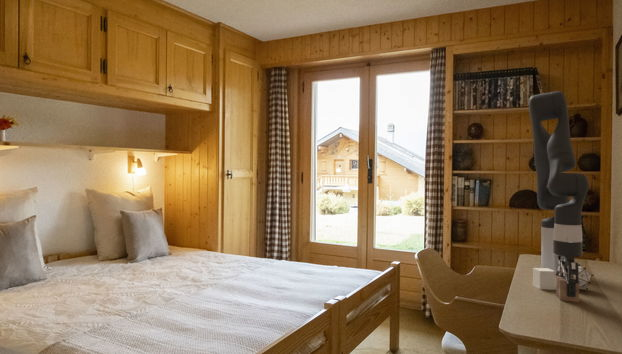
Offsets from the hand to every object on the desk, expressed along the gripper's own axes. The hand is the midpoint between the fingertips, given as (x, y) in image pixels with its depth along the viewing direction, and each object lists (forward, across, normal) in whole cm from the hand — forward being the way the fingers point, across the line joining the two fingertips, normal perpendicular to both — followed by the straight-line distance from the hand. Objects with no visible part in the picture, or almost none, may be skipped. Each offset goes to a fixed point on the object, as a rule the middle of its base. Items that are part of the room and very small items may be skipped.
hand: (567, 293), depth 130 cm
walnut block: (+2, 0, 0) cm, 2 cm away
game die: (+2, -14, +6) cm, 15 cm away
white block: (+2, -13, -4) cm, 14 cm away
